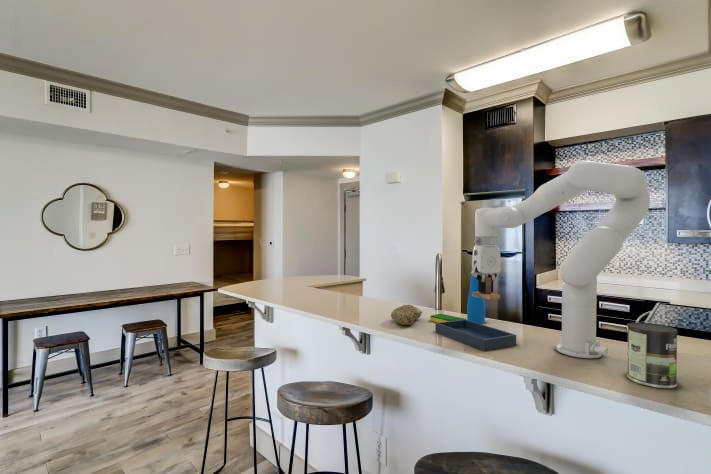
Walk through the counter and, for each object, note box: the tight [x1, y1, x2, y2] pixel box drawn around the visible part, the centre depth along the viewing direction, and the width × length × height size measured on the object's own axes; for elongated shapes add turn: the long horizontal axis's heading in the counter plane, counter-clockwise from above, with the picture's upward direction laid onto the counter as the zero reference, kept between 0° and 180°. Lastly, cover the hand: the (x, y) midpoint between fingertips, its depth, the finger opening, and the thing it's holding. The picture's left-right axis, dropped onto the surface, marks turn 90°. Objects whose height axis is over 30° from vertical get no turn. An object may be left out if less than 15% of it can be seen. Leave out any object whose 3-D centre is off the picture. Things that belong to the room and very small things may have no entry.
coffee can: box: [626, 321, 679, 389], centre depth 98 cm, size 10×10×14 cm
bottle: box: [466, 275, 486, 325], centre depth 162 cm, size 7×7×30 cm
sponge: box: [390, 304, 423, 326], centre depth 161 cm, size 13×8×20 cm
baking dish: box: [435, 318, 517, 352], centre depth 137 cm, size 26×15×4 cm, turn 25°
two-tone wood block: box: [472, 275, 501, 301], centre depth 137 cm, size 9×5×8 cm, turn 24°
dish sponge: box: [429, 313, 467, 323], centre depth 161 cm, size 7×14×2 cm, turn 38°
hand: (485, 291), depth 137 cm, fingers closed on two-tone wood block, 2 cm apart
